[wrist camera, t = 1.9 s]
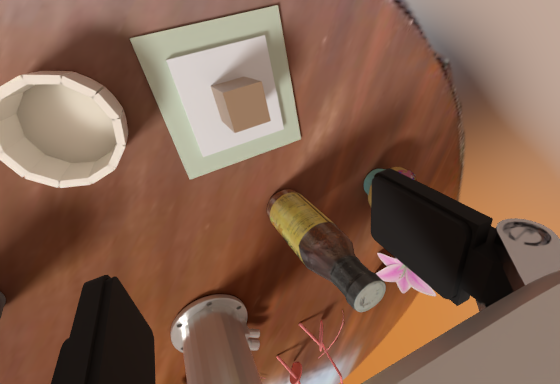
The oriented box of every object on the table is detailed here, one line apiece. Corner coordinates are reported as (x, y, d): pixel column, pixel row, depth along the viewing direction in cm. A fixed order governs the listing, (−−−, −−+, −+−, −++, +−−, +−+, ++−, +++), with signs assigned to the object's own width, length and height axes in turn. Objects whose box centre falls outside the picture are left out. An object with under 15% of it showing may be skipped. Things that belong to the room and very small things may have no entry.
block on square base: (262, 35, 32) (287, 32, 26) (281, 127, 37) (305, 141, 32) (165, 59, 29) (170, 62, 23) (202, 155, 35) (212, 175, 29)
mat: (276, 5, 31) (277, 4, 31) (299, 138, 40) (301, 139, 39) (129, 38, 27) (129, 38, 27) (189, 178, 36) (189, 179, 35)
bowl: (141, 102, 30) (140, 112, 26) (108, 179, 32) (101, 200, 28) (29, 48, 25) (3, 48, 20) (-3, 143, 27) (-33, 162, 22)
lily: (390, 223, 58) (402, 259, 50) (439, 240, 59) (458, 278, 51) (360, 258, 65) (366, 294, 57) (404, 272, 66) (416, 310, 58)
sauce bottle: (258, 219, 43) (328, 323, 26) (274, 182, 41) (358, 269, 25) (293, 225, 46) (374, 321, 30) (309, 192, 44) (403, 274, 28)
